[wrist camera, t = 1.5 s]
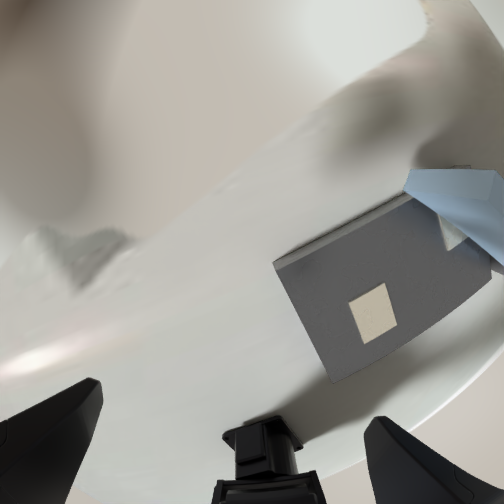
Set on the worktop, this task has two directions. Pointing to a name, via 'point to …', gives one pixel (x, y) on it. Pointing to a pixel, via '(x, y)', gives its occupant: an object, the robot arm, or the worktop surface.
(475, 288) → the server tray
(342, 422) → the worktop surface
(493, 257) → the light blue flat slab
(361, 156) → the worktop surface
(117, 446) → the worktop surface
